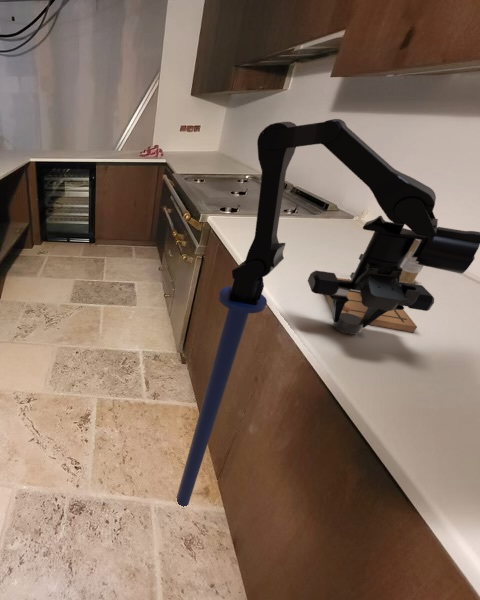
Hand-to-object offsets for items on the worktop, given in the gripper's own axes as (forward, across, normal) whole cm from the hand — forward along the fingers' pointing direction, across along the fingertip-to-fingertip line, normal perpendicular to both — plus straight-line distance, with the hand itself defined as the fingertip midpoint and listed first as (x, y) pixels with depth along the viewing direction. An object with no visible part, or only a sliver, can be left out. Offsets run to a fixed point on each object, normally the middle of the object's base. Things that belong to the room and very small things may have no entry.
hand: (348, 323), depth 68 cm
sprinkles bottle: (+2, +20, +32) cm, 38 cm away
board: (+2, +6, +14) cm, 15 cm away
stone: (+1, 0, 0) cm, 1 cm away
